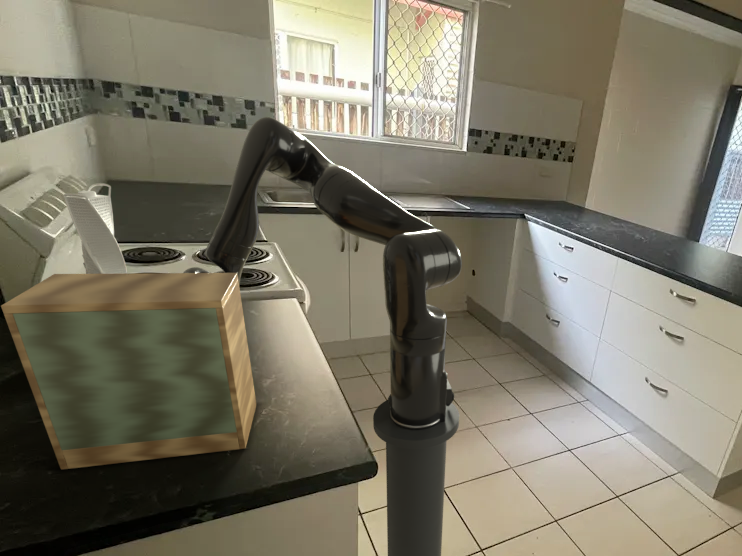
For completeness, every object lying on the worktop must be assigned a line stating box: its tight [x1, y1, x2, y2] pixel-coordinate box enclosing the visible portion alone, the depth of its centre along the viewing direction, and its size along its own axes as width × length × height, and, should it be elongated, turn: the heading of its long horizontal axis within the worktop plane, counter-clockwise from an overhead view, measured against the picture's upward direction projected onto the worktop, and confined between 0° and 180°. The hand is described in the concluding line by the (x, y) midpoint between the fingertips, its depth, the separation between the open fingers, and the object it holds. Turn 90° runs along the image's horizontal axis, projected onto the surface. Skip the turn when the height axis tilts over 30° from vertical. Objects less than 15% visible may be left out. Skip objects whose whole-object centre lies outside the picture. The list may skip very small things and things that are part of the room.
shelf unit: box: [0, 272, 257, 470], centre depth 66 cm, size 22×12×23 cm, turn 109°
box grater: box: [63, 182, 128, 274], centre depth 102 cm, size 8×8×28 cm
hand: (156, 367), depth 67 cm, fingers closed on can, 5 cm apart
